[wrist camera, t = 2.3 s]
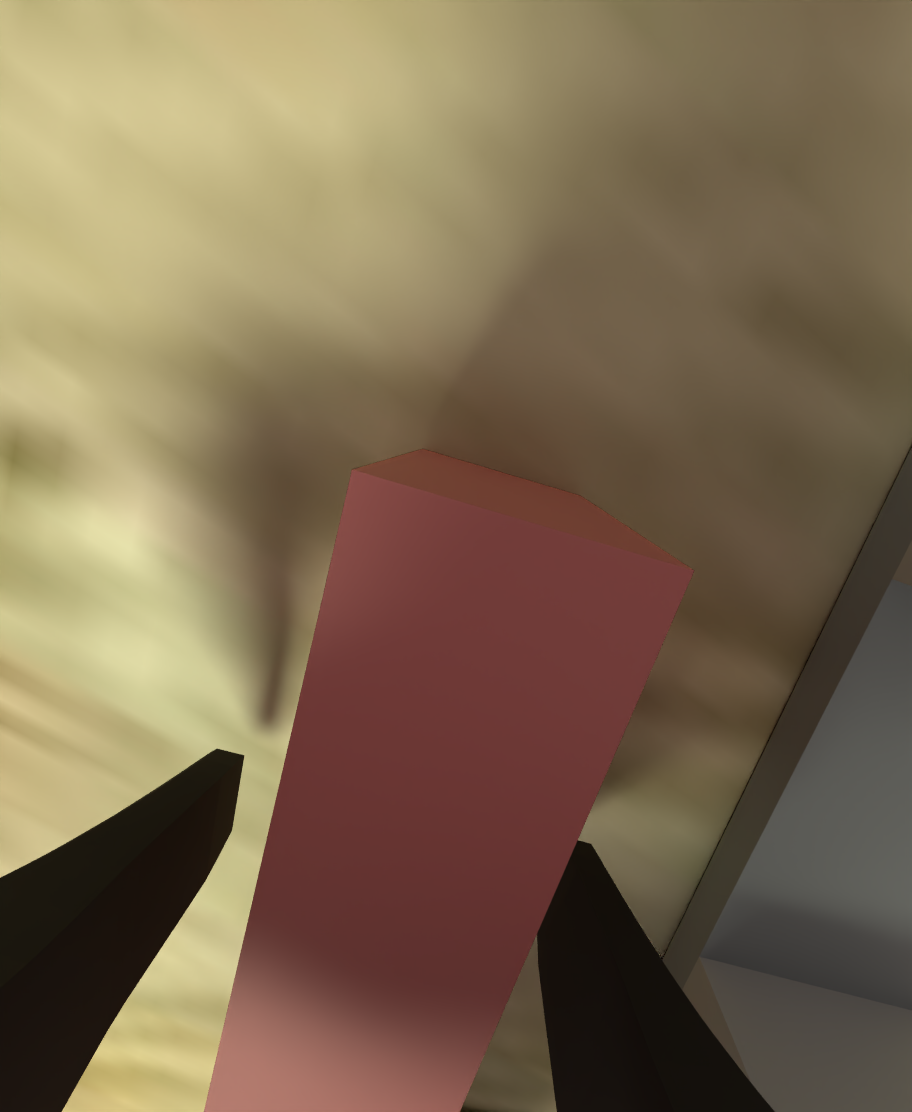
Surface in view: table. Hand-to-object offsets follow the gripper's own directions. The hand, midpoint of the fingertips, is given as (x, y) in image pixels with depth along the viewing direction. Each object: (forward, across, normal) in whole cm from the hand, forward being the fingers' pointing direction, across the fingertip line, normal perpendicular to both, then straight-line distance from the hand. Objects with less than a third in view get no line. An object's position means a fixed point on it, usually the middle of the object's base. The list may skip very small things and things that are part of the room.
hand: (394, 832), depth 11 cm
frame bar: (+2, 0, 0) cm, 2 cm away
